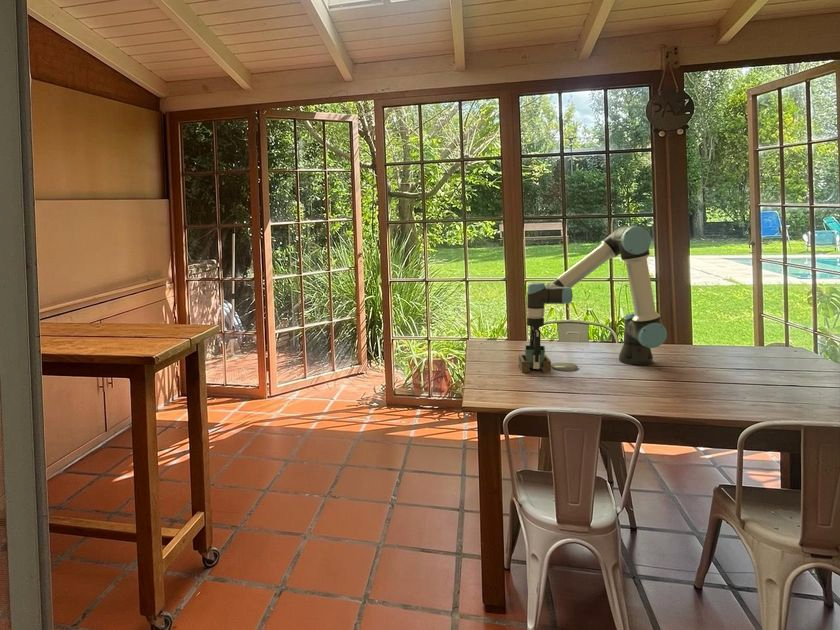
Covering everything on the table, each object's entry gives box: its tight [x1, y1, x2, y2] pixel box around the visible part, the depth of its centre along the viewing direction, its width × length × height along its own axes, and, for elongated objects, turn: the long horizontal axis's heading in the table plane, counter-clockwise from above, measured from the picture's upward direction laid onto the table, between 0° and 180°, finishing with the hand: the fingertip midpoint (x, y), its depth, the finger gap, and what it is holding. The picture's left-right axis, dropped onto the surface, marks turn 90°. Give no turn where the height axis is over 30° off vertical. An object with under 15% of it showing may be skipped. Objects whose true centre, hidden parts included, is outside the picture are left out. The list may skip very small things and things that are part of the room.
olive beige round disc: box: [551, 362, 579, 372], centre depth 244 cm, size 12×12×1 cm
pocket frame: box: [518, 354, 552, 374], centre depth 242 cm, size 13×13×5 cm
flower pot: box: [524, 344, 546, 369], centre depth 242 cm, size 9×9×9 cm
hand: (534, 365), depth 242 cm, fingers closed on flower pot, 9 cm apart
